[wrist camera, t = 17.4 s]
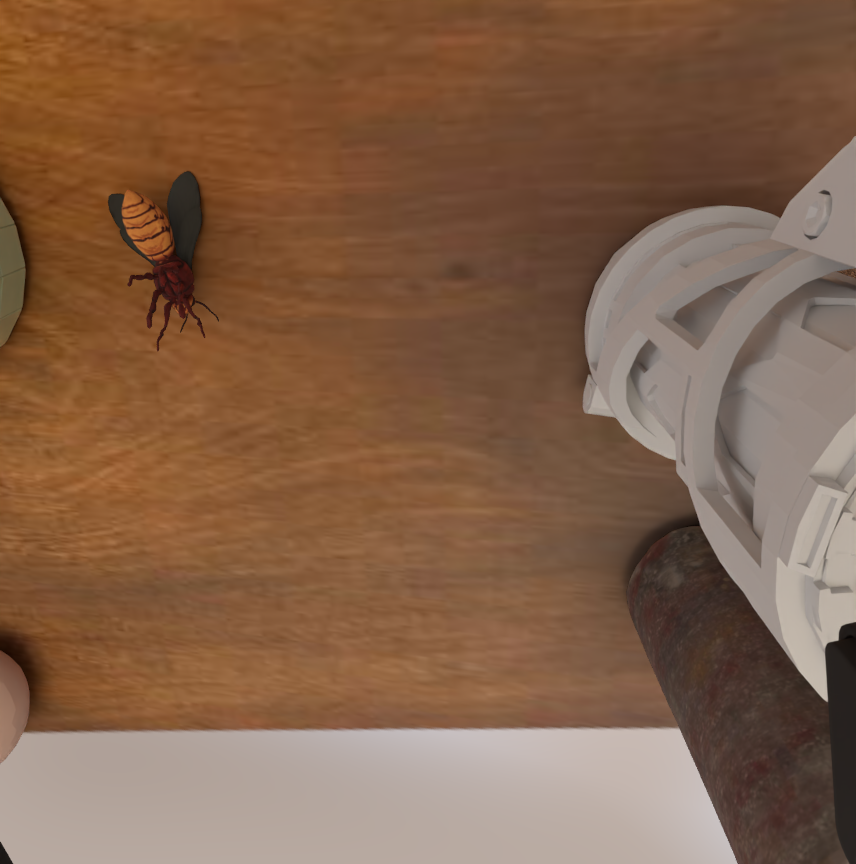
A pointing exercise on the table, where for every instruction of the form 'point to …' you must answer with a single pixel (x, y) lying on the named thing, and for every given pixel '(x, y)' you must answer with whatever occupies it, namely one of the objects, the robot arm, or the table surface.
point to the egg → (12, 704)
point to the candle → (737, 705)
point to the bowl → (10, 274)
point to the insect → (164, 242)
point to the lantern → (748, 391)
